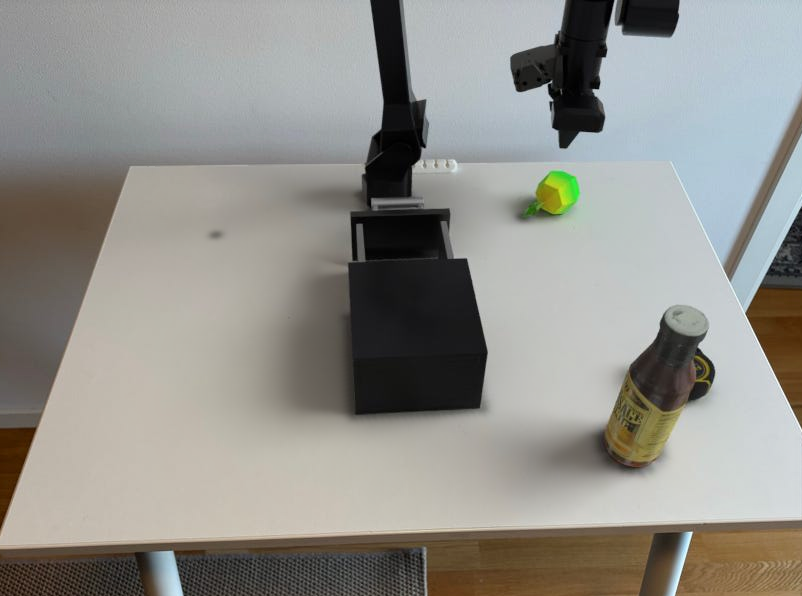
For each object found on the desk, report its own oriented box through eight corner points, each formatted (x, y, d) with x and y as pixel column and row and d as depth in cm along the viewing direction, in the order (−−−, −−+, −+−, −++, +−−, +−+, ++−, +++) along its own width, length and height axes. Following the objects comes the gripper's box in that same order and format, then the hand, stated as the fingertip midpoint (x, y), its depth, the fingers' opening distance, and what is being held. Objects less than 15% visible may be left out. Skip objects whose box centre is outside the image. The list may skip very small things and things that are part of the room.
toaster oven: (350, 319, 94) (347, 262, 87) (461, 314, 95) (467, 257, 88) (355, 414, 83) (352, 358, 76) (480, 408, 84) (488, 352, 78)
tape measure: (691, 361, 90) (701, 339, 87) (717, 403, 86) (728, 382, 83) (638, 367, 89) (646, 345, 86) (661, 411, 85) (670, 389, 82)
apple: (574, 155, 108) (540, 180, 103) (596, 192, 109) (564, 219, 104) (541, 175, 114) (507, 200, 109) (563, 210, 115) (530, 236, 110)
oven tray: (350, 234, 104) (348, 189, 99) (442, 231, 105) (445, 187, 100) (356, 330, 91) (354, 284, 86) (460, 325, 92) (465, 280, 87)
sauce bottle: (595, 426, 83) (639, 291, 68) (650, 423, 83) (705, 289, 69) (610, 475, 78) (661, 342, 64) (668, 472, 79) (731, 339, 64)
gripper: (516, -2, 98) (503, 109, 109) (519, 61, 85) (504, 179, 96) (601, 3, 98) (579, 113, 109) (617, 67, 85) (591, 185, 96)
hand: (562, 145), depth 103 cm, fingers closed
